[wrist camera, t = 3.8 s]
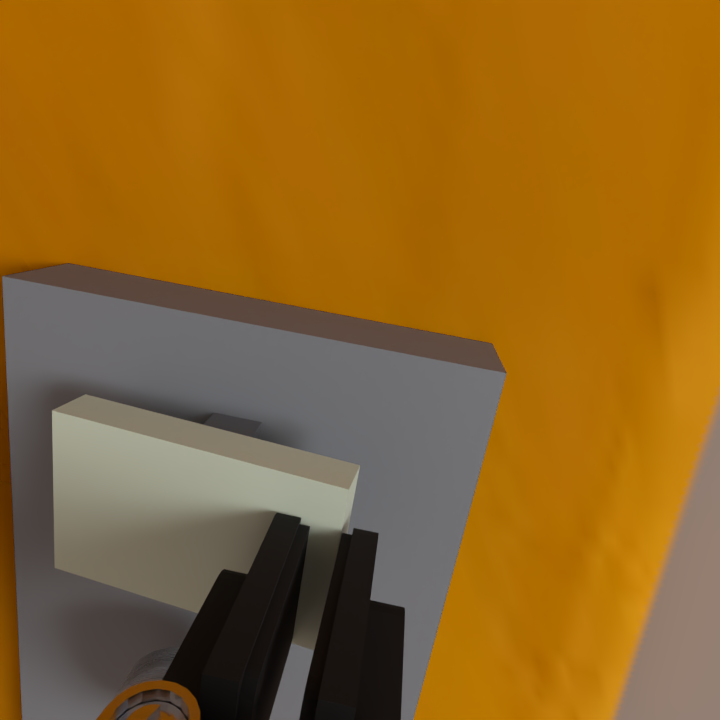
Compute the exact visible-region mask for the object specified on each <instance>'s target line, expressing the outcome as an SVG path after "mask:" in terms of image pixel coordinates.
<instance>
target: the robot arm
mask: <svg viewBox="0 0 720 720" xmlns="http://www.w3.org/2000/svg"><path fill="white" fill-rule="evenodd" d="M300 523H301V518H300V517H295V516H291V515H286V514H282V513H278V512H277V513H276V514H275V516H274V518H273V520H272V522H271V525H270V527H269V529H268V531H267V533H266V535H265V538H264V540H263V542H262V544H261V546H260V548H259V551H258V553H257V555H256V557H255V559H254V561H253V564H252V566H251V568H250V570H249V572H248V574H245V573H240V572H236V571H231V570H226V569H223V570H222V571H221V572H220V574H219V575H218V577H217V579H216V581H215V583H214V584H213V586H212V588H211V590H210V592H209V594H208V596H207V597H206V599H205V601H204V603H203V605H202V607H201V609H200V610H199V612H198V614H197V616H196V618H195V620H194V622H193V623H192V625H191V627H190V629H189V631H188V633H187V635H186V637H185V638H184V640H183V642H182V644H181V646H180V648H179V650H178V651H177V653H176V655H175V657H174V659H173V661H172V663H171V664H170V666H169V668H168V670H167V672H166V674H165V676H164V677H163V679H162V680H157V681H147V682H144V683H141V684H138V685H135V686H132V687H130V688H128V689H127V690H125V691H124V692H122V693H121V694H119V695H117V696H116V697H115V698H114V699H113V700H112V701H111V702H110V703H109V704H108V705H107V706H106V707H105V708H104V710H103V711H102V712H101V714H100V715H99V716H98V718H97V719H96V720H269V719H270V716H271V712H272V709H273V705H274V702H275V699H276V695H277V692H278V688H279V685H280V681H281V678H282V674H283V671H284V668H285V664H286V661H287V657H288V654H289V650H290V647H291V643H292V639H293V633H294V626H295V620H296V614H297V607H298V601H299V594H300V588H301V581H302V575H303V569H304V562H305V556H306V549H307V543H308V536H309V530H310V526H306V525H301V524H300ZM378 535H379V533H377V532H372V531H367V530H362V529H357V528H353V533H352V535H351V534H346V533H342V535H341V540H340V544H339V548H338V552H337V556H336V561H335V565H334V569H333V573H332V577H331V581H330V586H329V590H328V594H327V598H326V602H325V607H324V611H323V615H322V619H321V623H320V628H319V632H318V636H317V640H316V644H315V649H314V653H313V657H312V661H311V665H310V670H309V674H308V678H307V682H306V687H305V692H304V697H303V702H302V707H301V712H300V718H299V720H401V705H402V680H403V654H404V629H405V608H404V607H400V606H396V605H391V604H386V603H382V602H377V601H372V600H370V598H371V590H372V582H373V574H374V567H375V559H376V551H377V543H378Z"/></svg>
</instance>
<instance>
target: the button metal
mask: <svg viewBox="0 0 720 720" xmlns="http://www.w3.org/2000/svg"><path fill="white" fill-rule="evenodd" d="M179 648H180V647H169V648H163V649H159V650H156V651H153V652H151V653H149V654H147V655H145V656H144V657H142V658H141V659H140V660H139V661H138V662H137V663H136V664H135V665H134V666H133V668H132V669H131V671H130V673H129V674H128V676H127V678H126V679H125V681H124V682H123V684H122V686H121V687H120V689H119V691H118V692H117V694H116V696H117V695H119V694H121V693H122V692H124V691H125V690H127V689H128V688H130V687H132V686H135V685H138V684H141V683H144V682H147V681H157V680H162V679H163V677H164V676H165V674H166V672H167V670H168V668H169V666H170V664H171V663H172V661H173V659H174V657H175V655H176V653H177V651H178V650H179ZM116 696H115V697H116ZM115 697H114V698H115Z"/></svg>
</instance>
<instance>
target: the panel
mask: <svg viewBox="0 0 720 720" xmlns="http://www.w3.org/2000/svg"><path fill="white" fill-rule="evenodd" d="M2 283H3V305H4V327H5V350H6V372H7V394H8V416H9V438H10V460H11V483H12V505H13V527H14V549H15V571H16V594H17V616H18V638H19V660H20V682H21V704H22V720H96V719H97V718H98V716H99V715H100V714H101V712H102V711H103V710H104V708H105V707H106V706H107V705H108V704H109V703H110V702H111V701H112V700H113V699H114V697H115V696H116V694H117V692H118V691H119V689H120V687H121V686H122V684H123V682H124V681H125V679H126V678H127V676H128V674H129V673H130V671H131V669H132V668H133V666H134V665H135V664H136V663H137V662H138V661H139V660H140V659H141V658H142V657H144V656H145V655H147V654H149V653H151V652H153V651H156V650H159V649H163V648H169V647H180V646H181V644H182V642H183V640H184V638H185V637H186V635H187V633H188V631H189V629H190V627H191V625H192V623H193V622H194V620H195V618H196V616H197V614H198V613H195V612H192V611H189V610H186V609H182V608H179V607H176V606H173V605H170V604H167V603H164V602H160V601H157V600H154V599H151V598H148V597H145V596H142V595H138V594H135V593H132V592H129V591H126V590H123V589H119V588H116V587H113V586H110V585H107V584H104V583H101V582H97V581H94V580H91V579H88V578H85V577H82V576H79V575H75V574H72V573H69V572H66V571H63V570H60V569H57V568H55V560H54V501H53V442H52V410H54V409H56V408H58V407H60V406H62V405H64V404H66V403H68V402H70V401H73V400H75V399H77V398H79V397H81V396H83V395H85V394H87V395H90V396H94V397H98V398H102V399H106V400H110V401H114V402H117V403H121V404H125V405H129V406H133V407H137V408H141V409H144V410H148V411H152V412H156V413H160V414H164V415H168V416H172V417H175V418H179V419H183V420H187V421H191V422H195V423H199V424H202V425H206V426H210V427H214V428H218V429H222V430H226V431H230V432H233V433H237V434H241V435H245V436H249V437H253V438H257V439H260V440H264V441H268V442H272V443H276V444H280V445H284V446H287V447H291V448H295V449H299V450H303V451H307V452H311V453H315V454H318V455H322V456H326V457H330V458H334V459H338V460H342V461H345V462H349V463H353V464H357V465H360V469H359V474H358V479H357V485H356V490H355V495H354V500H353V506H352V511H351V516H350V522H349V527H348V532H347V534H351V535H352V533H353V528H357V529H362V530H367V531H372V532H377V533H379V535H378V543H377V551H376V559H375V567H374V574H373V582H372V590H371V598H370V600H372V601H377V602H382V603H386V604H391V605H396V606H400V607H404V608H405V629H404V654H403V680H402V705H401V720H413V718H414V715H415V711H416V707H417V703H418V700H419V696H420V692H421V689H422V685H423V681H424V677H425V674H426V670H427V666H428V663H429V659H430V655H431V651H432V648H433V644H434V640H435V637H436V633H437V629H438V626H439V622H440V618H441V614H442V611H443V607H444V603H445V600H446V596H447V592H448V588H449V585H450V581H451V577H452V574H453V570H454V566H455V562H456V559H457V555H458V551H459V548H460V544H461V540H462V536H463V533H464V529H465V525H466V522H467V518H468V514H469V510H470V507H471V503H472V499H473V496H474V492H475V488H476V485H477V481H478V477H479V473H480V470H481V466H482V462H483V459H484V455H485V451H486V447H487V444H488V440H489V436H490V433H491V429H492V425H493V421H494V418H495V414H496V410H497V407H498V403H499V399H500V395H501V392H502V388H503V384H504V381H505V377H506V371H505V369H504V367H503V365H502V363H501V361H500V359H499V357H498V355H497V352H496V350H495V348H494V346H493V344H492V343H486V342H481V341H476V340H470V339H465V338H460V337H455V336H449V335H444V334H439V333H433V332H428V331H423V330H418V329H412V328H407V327H402V326H397V325H391V324H386V323H381V322H375V321H370V320H365V319H360V318H354V317H349V316H344V315H339V314H333V313H328V312H323V311H317V310H312V309H307V308H302V307H296V306H291V305H286V304H280V303H275V302H270V301H265V300H259V299H254V298H249V297H244V296H238V295H233V294H228V293H222V292H217V291H212V290H207V289H201V288H196V287H191V286H186V285H180V284H175V283H170V282H164V281H159V280H154V279H149V278H143V277H138V276H133V275H128V274H122V273H117V272H112V271H106V270H101V269H96V268H91V267H85V266H80V265H75V264H69V263H68V264H63V265H58V266H52V267H47V268H42V269H37V270H32V271H27V272H21V273H16V274H11V275H6V276H2ZM313 653H314V650H311V649H308V648H305V647H302V646H299V645H296V644H293V643H291V647H290V650H289V654H288V657H287V661H286V664H285V668H284V671H283V674H282V678H281V681H280V685H279V688H278V692H277V695H276V699H275V702H274V705H273V709H272V712H271V716H270V719H269V720H299V718H300V712H301V707H302V702H303V697H304V692H305V687H306V682H307V678H308V674H309V670H310V665H311V661H312V657H313Z"/></svg>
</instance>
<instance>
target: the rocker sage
mask: <svg viewBox="0 0 720 720" xmlns="http://www.w3.org/2000/svg"><path fill="white" fill-rule="evenodd" d="M52 442H53V501H54V560H55V568H57V569H60V570H63V571H66V572H69V573H72V574H75V575H79V576H82V577H85V578H88V579H91V580H94V581H97V582H101V583H104V584H107V585H110V586H113V587H116V588H119V589H123V590H126V591H129V592H132V593H135V594H138V595H142V596H145V597H148V598H151V599H154V600H157V601H160V602H164V603H167V604H170V605H173V606H176V607H179V608H182V609H186V610H189V611H192V612H195V613H198V612H199V610H200V609H201V607H202V605H203V603H204V601H205V599H206V597H207V596H208V594H209V592H210V590H211V588H212V586H213V584H214V583H215V581H216V579H217V577H218V575H219V574H220V572H221V571H222V570H223V569H226V570H231V571H236V572H240V573H245V574H248V572H249V570H250V568H251V566H252V564H253V561H254V559H255V557H256V555H257V553H258V551H259V548H260V546H261V544H262V542H263V540H264V538H265V535H266V533H267V531H268V529H269V527H270V525H271V522H272V520H273V518H274V516H275V514H276V513H277V512H278V513H282V514H286V515H291V516H295V517H300V518H301V523H300V524H301V525H306V526H310V530H309V536H308V543H307V549H306V556H305V562H304V569H303V575H302V581H301V588H300V594H299V601H298V607H297V614H296V620H295V626H294V633H293V639H292V643H293V644H296V645H299V646H302V647H305V648H308V649H311V650H314V649H315V644H316V640H317V636H318V632H319V628H320V623H321V619H322V615H323V611H324V607H325V602H326V598H327V594H328V590H329V586H330V581H331V577H332V573H333V569H334V565H335V561H336V556H337V552H338V548H339V544H340V540H341V535H342V533H346V534H347V532H348V527H349V522H350V516H351V511H352V506H353V500H354V495H355V490H356V485H357V479H358V474H359V469H360V465H357V464H353V463H349V462H345V461H342V460H338V459H334V458H330V457H326V456H322V455H318V454H315V453H311V452H307V451H303V450H299V449H295V448H291V447H287V446H284V445H280V444H276V443H272V442H268V441H264V440H260V439H257V438H253V437H249V436H245V435H241V434H237V433H233V432H230V431H226V430H222V429H218V428H214V427H210V426H206V425H202V424H199V423H195V422H191V421H187V420H183V419H179V418H175V417H172V416H168V415H164V414H160V413H156V412H152V411H148V410H144V409H141V408H137V407H133V406H129V405H125V404H121V403H117V402H114V401H110V400H106V399H102V398H98V397H94V396H90V395H87V394H85V395H83V396H81V397H79V398H77V399H75V400H73V401H70V402H68V403H66V404H64V405H62V406H60V407H58V408H56V409H54V410H52Z"/></svg>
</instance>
